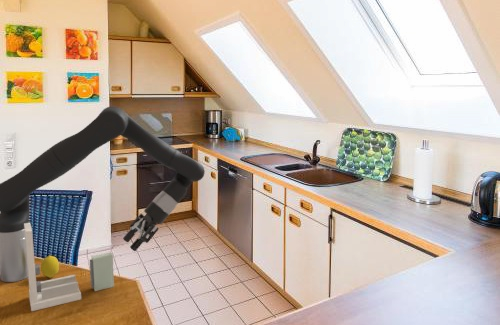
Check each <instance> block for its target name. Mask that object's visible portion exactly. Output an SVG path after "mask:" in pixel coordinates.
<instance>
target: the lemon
mask: <svg viewBox="0 0 500 325" xmlns="http://www.w3.org/2000/svg"><path fill="white" fill-rule="evenodd" d="M59 270H60V263H59V260H58V258H57V257H55V256H53V255H48V256H46V257H44V258H43V259H42V261H41V263H40V272H41V274H42V275H43V276H45V277H47V278H50V279H53V277H55V276H56V275H57V274H58V272H59Z"/></svg>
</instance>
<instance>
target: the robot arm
mask: <svg viewBox="0 0 500 325" xmlns="http://www.w3.org/2000/svg"><path fill="white" fill-rule="evenodd" d="M120 136H121V137H123V138H126V140H127V139H128V140H129V141H130V142H132V143H134V144H135V145H136V146H137V147H139V148H140V149H141V150H142V151H143V152H144V153H146V154H147V155H148V156H149V157H150V158H152V159H153V160H155V161H156V163H157V162H158V163H159V164H161V165H162V166H165V167H166V168H168V169H170V170H172V171H175V172H176V174H174V177H173V178H172V179H171V181H170V182H168V184H167V185H166V186H165V187H164V188H163V189H162V190H161V191H160V193H158V194H157V195H156V196H155V197H154V199H153V200H151V202H150V203H149V204H148V205H147V206H146V207H145V208H144V213H145V214H143V213H140V214H139V215H138V216H137V217H136V218H135V219H134V221H132V223H130V225H129V227H130V228H129V231H128V232H127V233H126V234H125V235H124V237H123V238H122V240H123V241H125V242H126V243H129V242H130V241H131V240H132V239H133V237H135V235H136V234H137V233H139V235H138V237H137V238H136V239H135V240H134V242H133V243H132V244H131V245H129V246H130V247H129V248H130V249H131V250H132V251H133V252H136V251H137V250H138V249H139V248H140V246H142V244H144V243H146V244H147V243H149V242H150V241H151V239H152V238H153V237H154V236H155V234H156V233H157V232H158V231H159V229H160V228H159V227H158V226H157V224H158V225H162V224H163V223H164V222H165V220H166V219H168V217H169V216H170V215H171V214H172V212H173V211H174V210H175V209H176V207H177V205H178V204H179V203H180V202H181V201H182V200H183V198H184V197H185V196H186V194H187V193H188V189H189V187H190V186H191V185H192V183H194V182H199V181H201V180H202V179H203V178H204V176H205V167H204V166H203V164H201V162H199V161H197V160H196V159H194V158H192V157H190V156H188V155H186V154H184V153H182V152H181V151H179V149H176V148H175V147H173V146H172V145H171V144H169V143H167V141H166V142H165V141H164V140H162V139H161V138H159V137H157V135H155V134H153V133H152V132H150V131H149V130H147V129H146V128H144V127H143V126H142V125H140V124H139V123H138V122H137V121H135V119H133V118H132V117H131V116H130V115H129V114H128V113H127V112H126V111H124V110H123V109H122V108H121V107H118V106H114V105H113V106H111V105H110V106H108V107H105V108H103V109H102V111H101V112H100V113H99V114H98V116H97V117H96V118H95V119H94V120H92V121H91V122H89V124H88V125H86V126H85V127H84V128H83V129H82V130H80V131H78V132H77V133H75V134H73V135H71V136H68V137H66V138H64V139H62V140H60V141H59V142H56V143H55V144H54V145H52V146H51V147H49V148H47V150H45V151H43V153H41V154H40V155H39V156H37V157H36V158H34V159H33V161H31V162H29V164H28V165H26V166H25V167H24V168H23V169H22V170H21V171H19V172H18V173H16V174H15V175H13V176H11V177H10V178H8V179H6V180H4V181H3V182H1V183H0V281H2V282H5V283H12V282H13V283H15V282H19V281H23V280H25V279H29V278H28V266H27V254H26V242H25V229H24V223H29V219H30V195H31V194H32V193H33V192H35V191H36V190H38V189H40V188H41V187H44V186H45V185H46V186H47V185H48V184H49V183H52V182H53V181H55V180H57V179H58V178H60V177H61V176H64V175H65V174H66V173H68V172H69V171H71V170H72V169H73V168H75V167H76V166H77V165H78V164H80V163H81V162H82V161H83V160H85V159H86V158H87V157H88V156H89V155H91V154H92V153H93V152H94V151H96V150H97V149H99V148H100V147H102V146H103V145H106V144H107V143H109V142H111V141H113V140H115V139H116V138H118V137H120Z"/></svg>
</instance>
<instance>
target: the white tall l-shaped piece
mask: <svg viewBox="0 0 500 325" xmlns="http://www.w3.org/2000/svg"><path fill="white" fill-rule="evenodd" d="M24 229H25V242H26V254H27V266H28V278H27V279H28V288H29V291H28V298H29V305H30V311H31V312H35V311H38V310H43V309H46V308H51V307H55V306H58V305H59V306H60V305H63V304H67V303H72V302H76V301H80V300H82V292H81V290H80V288H79V282H78V280H76V274H71V275H67V276H62V277H58V278H57V277H56V278H50V279H48V280H38V281H37V276H39V275H41V266H40V264H39V263H37V264H36V263H35V261H36V260H35V251H34V250H35V249H34V238H33V237H34V235H33V228H32V225H31V222H28V223H24Z"/></svg>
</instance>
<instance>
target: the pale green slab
mask: <svg viewBox="0 0 500 325" xmlns="http://www.w3.org/2000/svg"><path fill="white" fill-rule="evenodd" d="M89 275H90V287H91V288H92V289H93V290H94V292H97V291H101V290H106V289H109V288H114V287H115V278H114V255H113V254H112V252H106V253H101V254H95V255H91V259H89Z"/></svg>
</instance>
